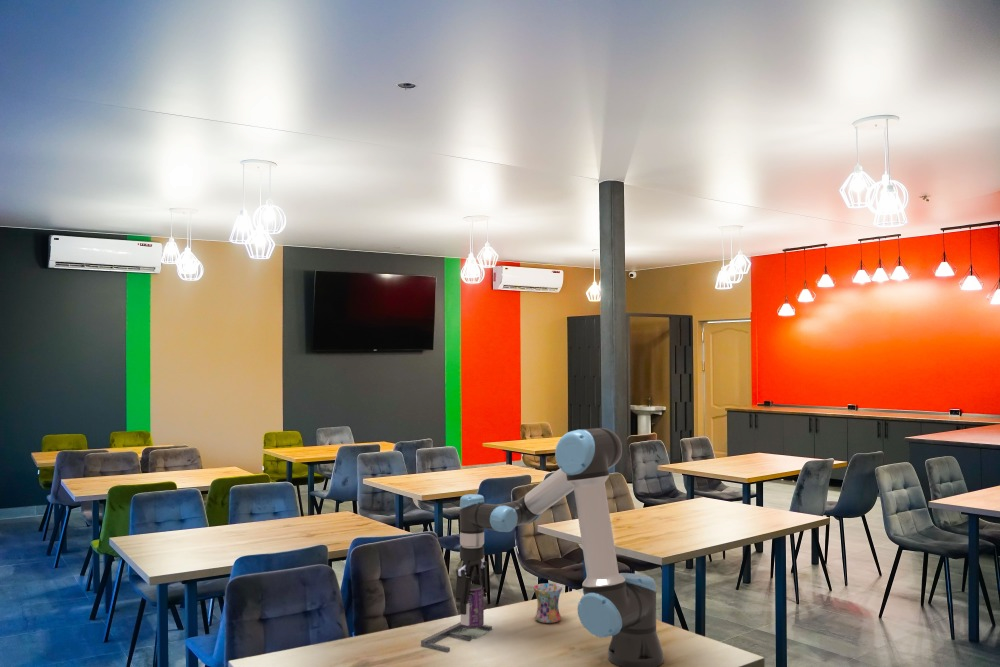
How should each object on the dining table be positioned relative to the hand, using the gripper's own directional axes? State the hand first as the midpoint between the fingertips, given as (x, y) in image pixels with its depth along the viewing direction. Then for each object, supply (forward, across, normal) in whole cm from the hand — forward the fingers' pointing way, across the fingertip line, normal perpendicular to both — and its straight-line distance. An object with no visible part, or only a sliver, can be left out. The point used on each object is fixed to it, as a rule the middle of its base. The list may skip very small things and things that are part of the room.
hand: (472, 621), depth 235 cm
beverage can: (+2, 0, 0) cm, 2 cm away
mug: (+4, -24, +13) cm, 28 cm away
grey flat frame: (+4, +6, -1) cm, 7 cm away
